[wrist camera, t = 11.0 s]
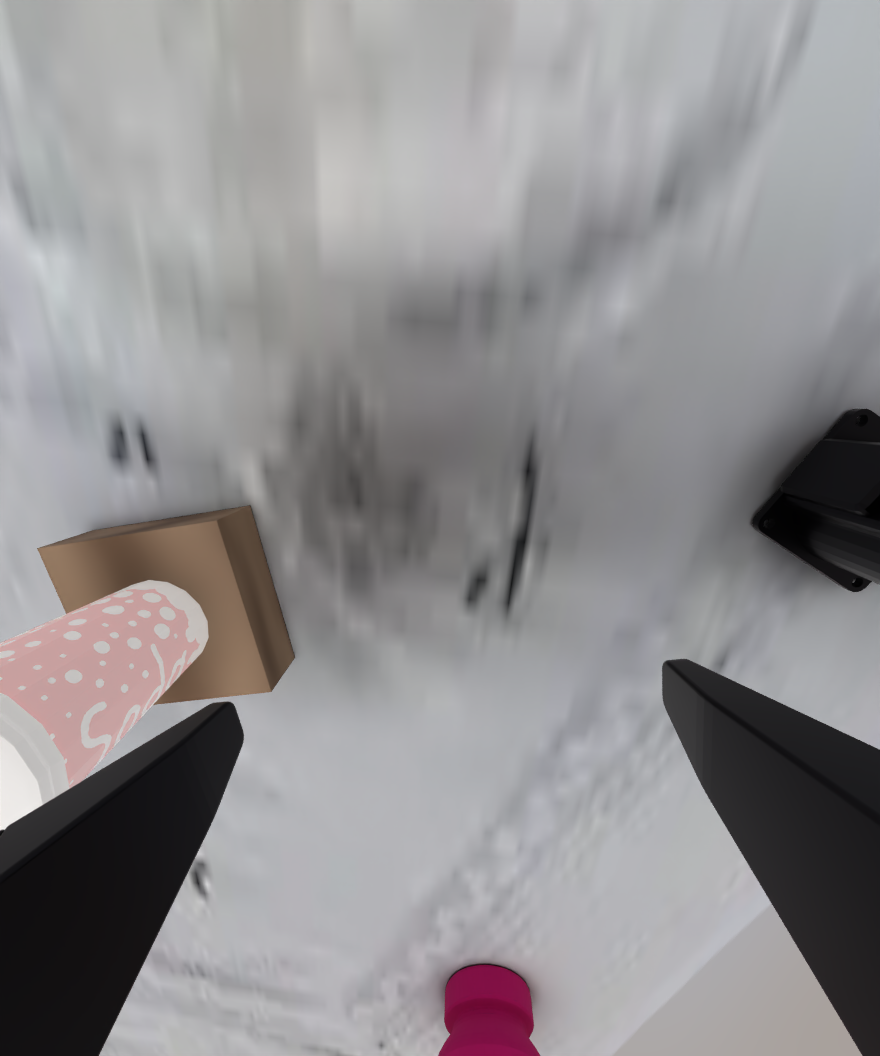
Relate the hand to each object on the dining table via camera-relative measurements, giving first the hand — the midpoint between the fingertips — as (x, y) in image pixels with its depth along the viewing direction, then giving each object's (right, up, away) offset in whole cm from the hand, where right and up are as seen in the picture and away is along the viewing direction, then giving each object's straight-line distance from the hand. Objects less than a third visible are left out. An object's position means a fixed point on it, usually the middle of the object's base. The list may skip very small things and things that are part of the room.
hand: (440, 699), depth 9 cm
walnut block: (-14, 0, +14) cm, 20 cm away
